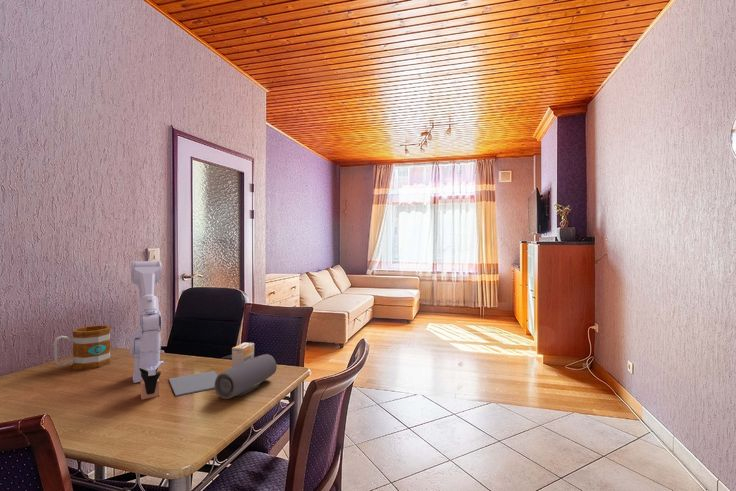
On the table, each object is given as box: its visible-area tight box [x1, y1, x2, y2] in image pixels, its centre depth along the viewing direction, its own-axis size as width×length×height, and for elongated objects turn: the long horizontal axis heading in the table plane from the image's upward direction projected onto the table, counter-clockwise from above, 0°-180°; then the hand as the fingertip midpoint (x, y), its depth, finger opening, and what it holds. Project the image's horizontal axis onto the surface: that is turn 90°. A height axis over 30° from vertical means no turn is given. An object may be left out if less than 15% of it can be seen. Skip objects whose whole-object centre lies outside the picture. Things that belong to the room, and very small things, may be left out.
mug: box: [52, 324, 112, 371], centre depth 154 cm, size 20×14×15 cm
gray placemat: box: [168, 370, 219, 397], centre depth 136 cm, size 18×16×1 cm
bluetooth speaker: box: [214, 353, 278, 400], centre depth 131 cm, size 23×9×10 cm, turn 159°
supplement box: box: [231, 342, 255, 368], centre depth 140 cm, size 8×5×13 cm, turn 168°
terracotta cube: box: [140, 378, 160, 400], centre depth 125 cm, size 5×5×5 cm
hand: (149, 390), depth 125 cm, fingers closed on terracotta cube, 5 cm apart
